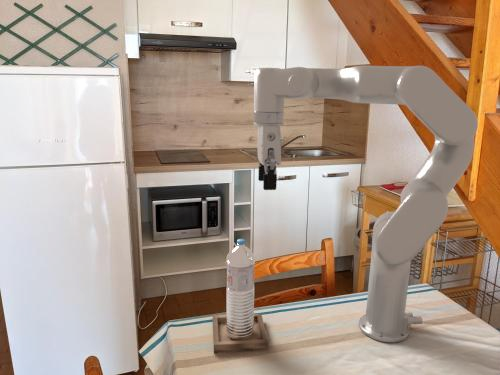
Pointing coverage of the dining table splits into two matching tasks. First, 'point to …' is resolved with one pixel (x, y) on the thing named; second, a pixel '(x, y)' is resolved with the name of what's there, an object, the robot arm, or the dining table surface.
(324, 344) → the dining table surface
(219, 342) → the tray
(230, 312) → the water bottle
